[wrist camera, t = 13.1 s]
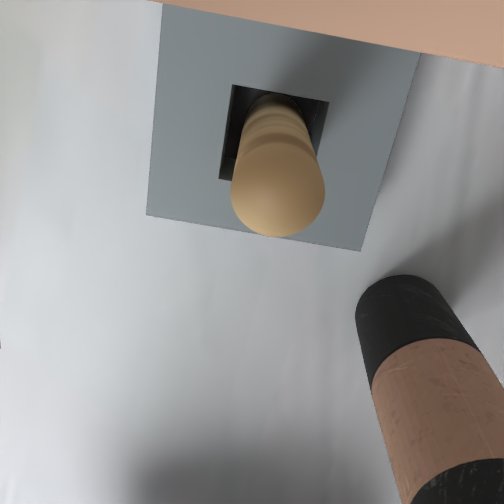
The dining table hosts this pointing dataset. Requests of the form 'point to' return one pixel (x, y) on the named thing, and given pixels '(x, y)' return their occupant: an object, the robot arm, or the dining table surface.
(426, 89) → the dining table surface
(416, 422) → the travel mug
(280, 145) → the oak peg
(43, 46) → the dining table surface
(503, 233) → the dining table surface
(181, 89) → the socket board
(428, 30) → the wooden side table
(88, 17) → the dining table surface
